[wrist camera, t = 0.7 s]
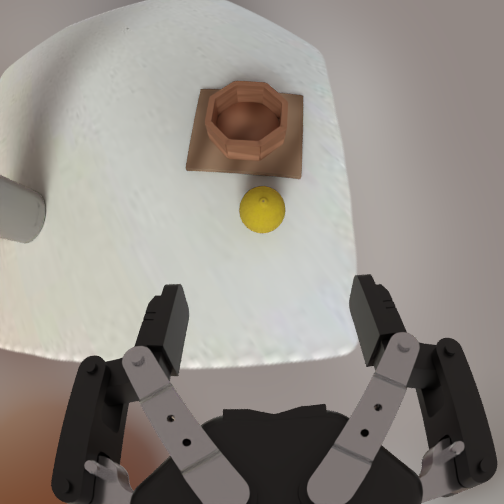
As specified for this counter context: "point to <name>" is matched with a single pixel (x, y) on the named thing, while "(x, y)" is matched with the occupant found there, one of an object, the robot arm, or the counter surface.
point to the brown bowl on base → (247, 131)
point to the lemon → (262, 209)
